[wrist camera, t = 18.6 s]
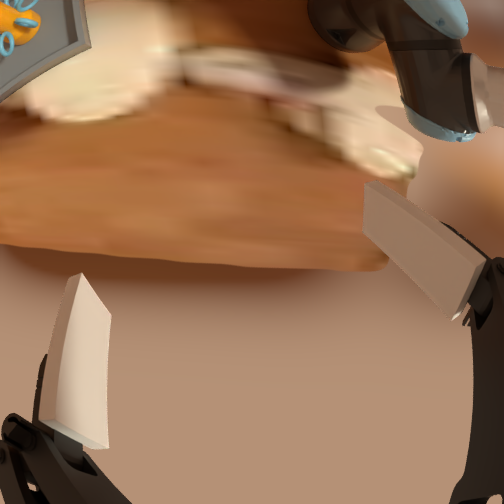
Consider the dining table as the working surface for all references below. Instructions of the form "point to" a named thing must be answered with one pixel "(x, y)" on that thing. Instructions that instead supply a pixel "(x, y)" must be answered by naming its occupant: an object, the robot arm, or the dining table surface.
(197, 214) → the dining table surface
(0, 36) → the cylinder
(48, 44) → the tray
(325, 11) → the robot arm
